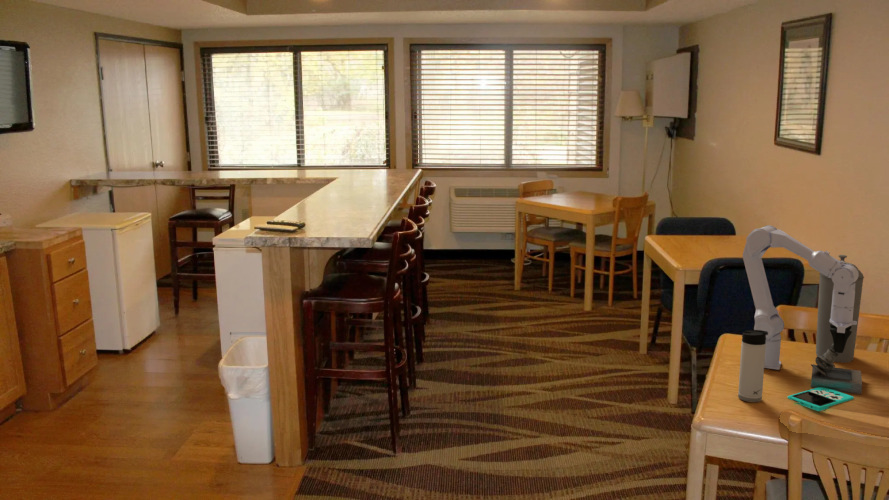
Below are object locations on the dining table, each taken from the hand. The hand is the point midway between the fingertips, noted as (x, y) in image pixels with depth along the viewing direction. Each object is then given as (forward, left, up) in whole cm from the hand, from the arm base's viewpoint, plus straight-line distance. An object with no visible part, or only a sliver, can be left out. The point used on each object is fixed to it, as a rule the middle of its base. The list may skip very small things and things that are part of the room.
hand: (838, 350), depth 215 cm
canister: (0, +25, -11) cm, 27 cm away
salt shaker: (-5, -1, -7) cm, 8 cm away
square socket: (0, 0, -10) cm, 10 cm away
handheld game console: (-4, -15, -11) cm, 19 cm away
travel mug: (-21, -24, -11) cm, 34 cm away
